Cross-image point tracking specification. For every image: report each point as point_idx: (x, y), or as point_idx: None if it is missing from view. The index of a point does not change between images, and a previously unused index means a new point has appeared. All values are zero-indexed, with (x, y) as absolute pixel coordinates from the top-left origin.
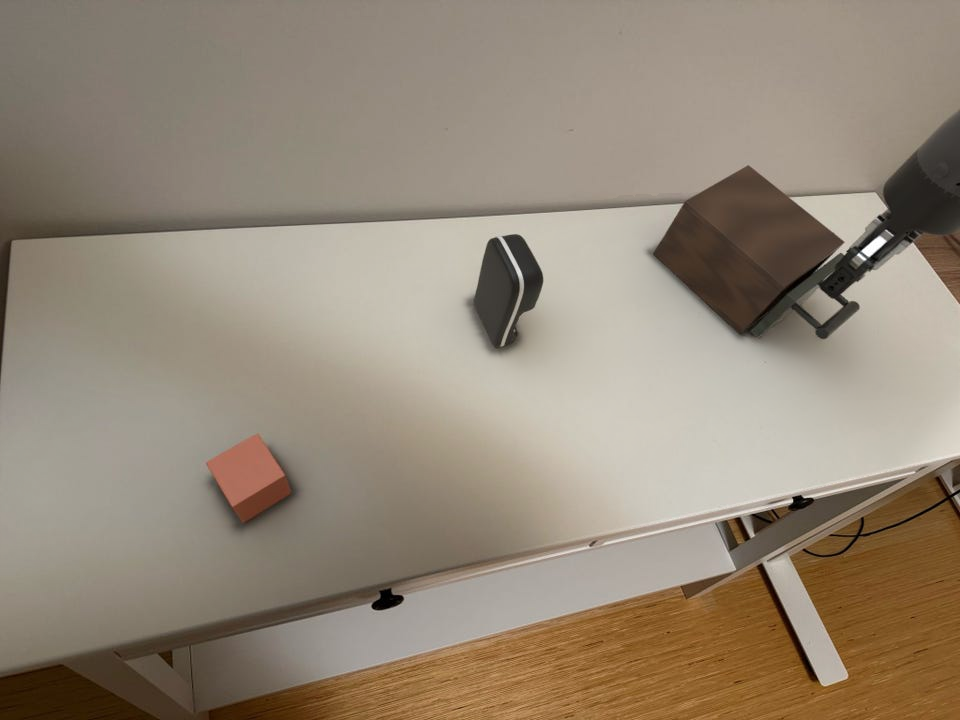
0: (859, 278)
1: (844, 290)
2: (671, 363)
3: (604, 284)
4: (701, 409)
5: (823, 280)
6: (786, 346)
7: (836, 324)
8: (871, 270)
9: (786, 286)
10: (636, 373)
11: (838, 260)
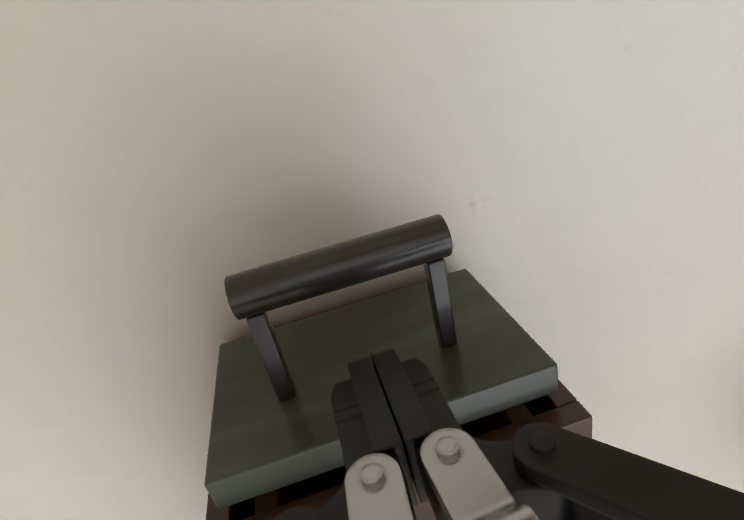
0: (553, 452)
1: (407, 378)
2: (657, 262)
3: (626, 431)
4: (694, 148)
5: None
6: (381, 226)
7: (392, 251)
8: (383, 475)
9: (585, 418)
10: (726, 261)
11: (258, 482)
